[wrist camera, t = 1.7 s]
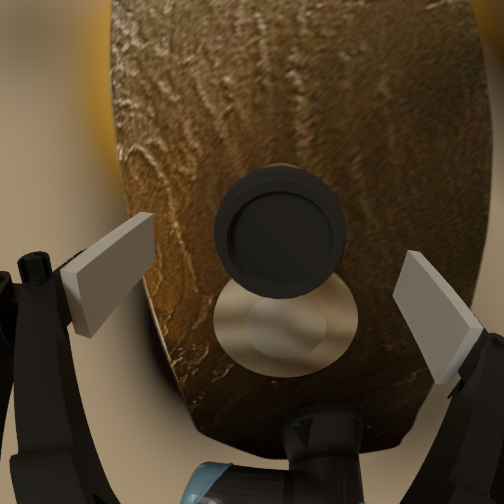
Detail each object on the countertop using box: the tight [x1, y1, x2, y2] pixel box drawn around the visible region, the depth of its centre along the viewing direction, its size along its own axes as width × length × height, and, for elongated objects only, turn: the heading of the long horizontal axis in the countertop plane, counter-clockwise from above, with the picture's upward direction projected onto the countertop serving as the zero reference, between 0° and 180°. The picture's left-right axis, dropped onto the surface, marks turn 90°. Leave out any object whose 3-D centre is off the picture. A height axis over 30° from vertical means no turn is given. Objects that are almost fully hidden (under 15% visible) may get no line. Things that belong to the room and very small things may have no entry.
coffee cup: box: [214, 163, 346, 299], centre depth 23 cm, size 8×8×15 cm
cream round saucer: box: [213, 272, 358, 377], centre depth 36 cm, size 18×18×2 cm
